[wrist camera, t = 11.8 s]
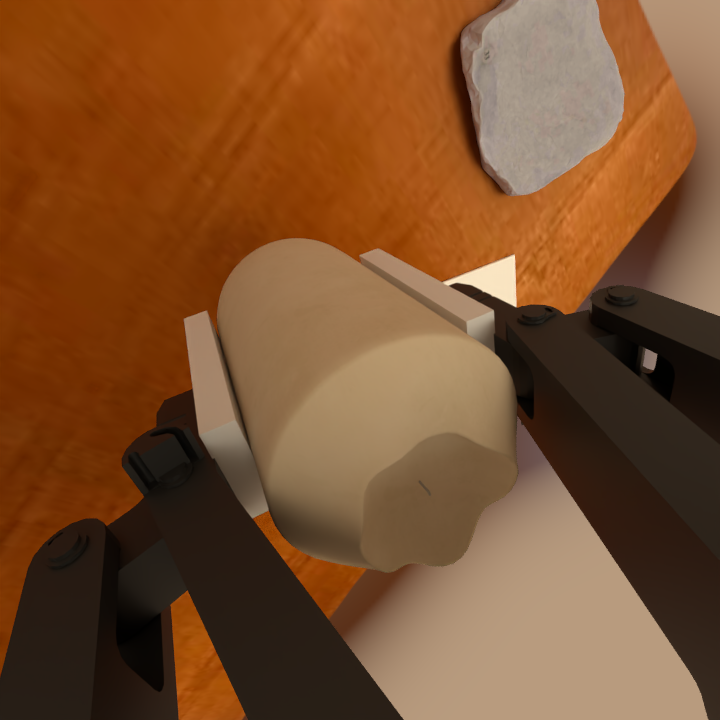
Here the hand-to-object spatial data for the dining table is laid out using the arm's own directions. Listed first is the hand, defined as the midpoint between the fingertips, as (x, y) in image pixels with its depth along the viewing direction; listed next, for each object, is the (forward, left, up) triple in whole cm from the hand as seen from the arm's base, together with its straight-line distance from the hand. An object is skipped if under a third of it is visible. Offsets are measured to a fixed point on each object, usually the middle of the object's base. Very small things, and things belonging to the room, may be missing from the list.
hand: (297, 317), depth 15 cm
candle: (0, 0, -1) cm, 1 cm away
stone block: (+21, +3, -15) cm, 26 cm away
